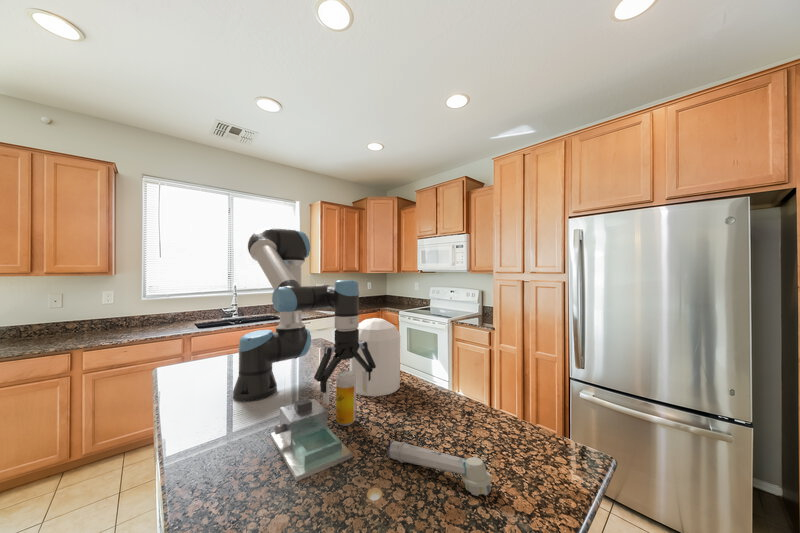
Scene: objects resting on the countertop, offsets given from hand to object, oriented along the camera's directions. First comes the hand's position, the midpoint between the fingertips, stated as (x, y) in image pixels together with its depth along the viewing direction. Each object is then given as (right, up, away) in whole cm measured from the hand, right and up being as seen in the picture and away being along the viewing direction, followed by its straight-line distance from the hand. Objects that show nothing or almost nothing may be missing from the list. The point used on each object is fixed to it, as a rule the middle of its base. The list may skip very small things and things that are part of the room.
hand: (346, 396), depth 91 cm
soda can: (0, -8, 0) cm, 8 cm away
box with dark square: (-8, -8, -13) cm, 17 cm away
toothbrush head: (+25, -8, -23) cm, 35 cm away
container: (+6, -9, +29) cm, 31 cm away
